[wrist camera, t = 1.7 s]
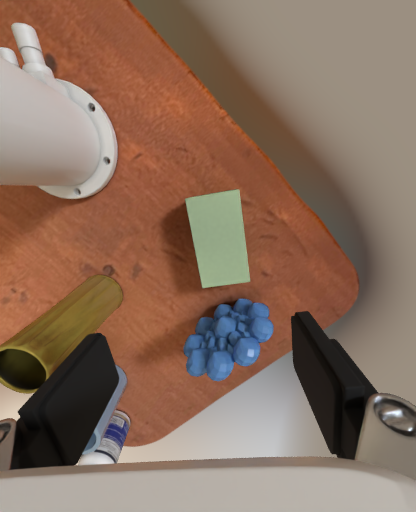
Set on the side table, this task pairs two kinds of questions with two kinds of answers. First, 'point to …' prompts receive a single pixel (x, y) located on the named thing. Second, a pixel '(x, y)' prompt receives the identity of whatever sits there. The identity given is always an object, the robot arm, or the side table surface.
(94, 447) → the cup
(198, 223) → the pale sage-green block
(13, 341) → the vase
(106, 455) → the pill bottle
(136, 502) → the robot arm
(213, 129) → the side table surface
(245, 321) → the grapes
